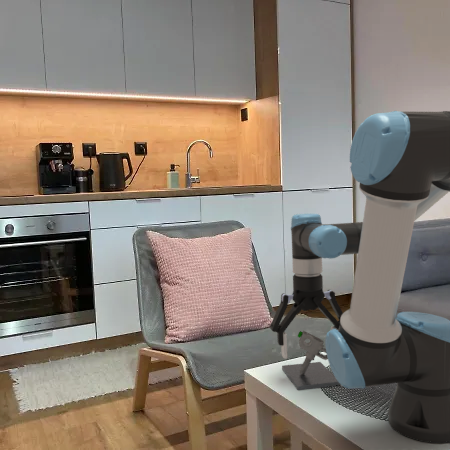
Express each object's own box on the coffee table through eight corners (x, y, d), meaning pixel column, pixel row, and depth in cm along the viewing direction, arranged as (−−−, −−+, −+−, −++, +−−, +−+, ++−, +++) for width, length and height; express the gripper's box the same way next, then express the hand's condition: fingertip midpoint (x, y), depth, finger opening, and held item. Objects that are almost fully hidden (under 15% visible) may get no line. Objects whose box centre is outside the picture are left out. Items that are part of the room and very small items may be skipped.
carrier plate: (340, 385, 127) (340, 381, 127) (297, 390, 125) (297, 386, 125) (320, 365, 141) (320, 361, 141) (282, 369, 139) (281, 365, 139)
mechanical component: (319, 384, 131) (337, 350, 129) (283, 365, 132) (300, 332, 130) (319, 379, 133) (336, 346, 132) (283, 361, 134) (300, 328, 133)
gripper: (347, 268, 136) (349, 345, 138) (256, 274, 132) (259, 354, 134) (359, 273, 129) (361, 354, 130) (263, 280, 125) (266, 364, 126)
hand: (309, 354), depth 132 cm, fingers open, 13 cm apart
